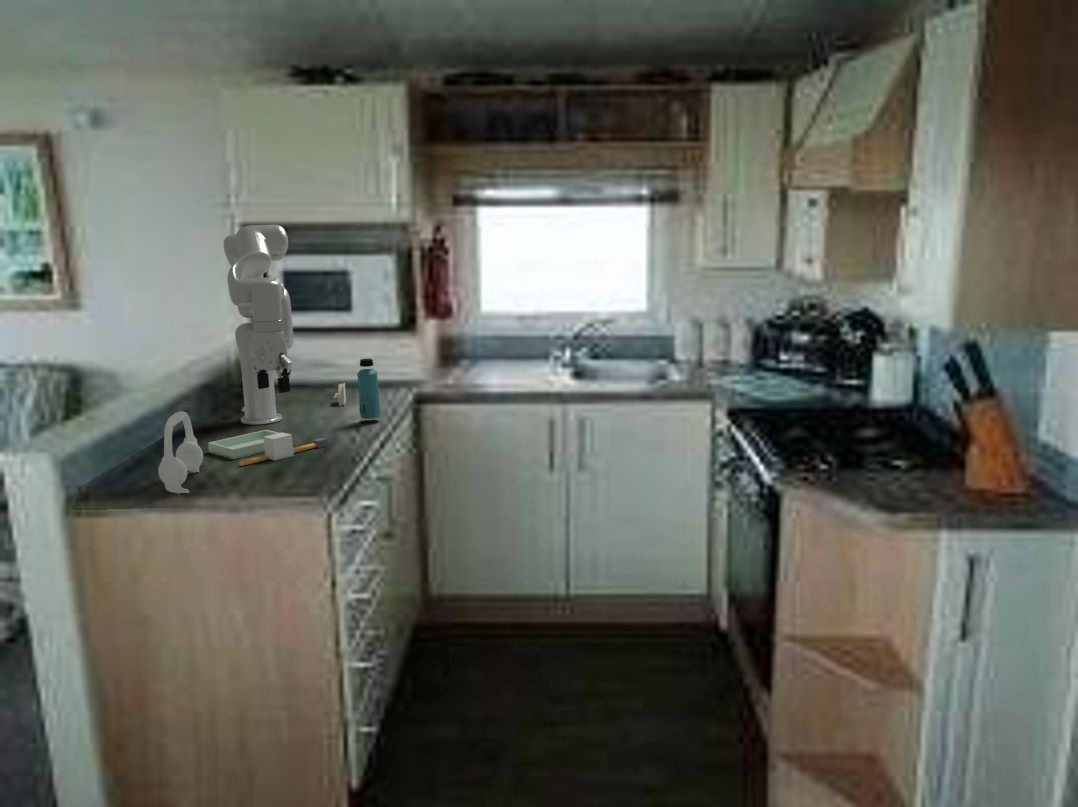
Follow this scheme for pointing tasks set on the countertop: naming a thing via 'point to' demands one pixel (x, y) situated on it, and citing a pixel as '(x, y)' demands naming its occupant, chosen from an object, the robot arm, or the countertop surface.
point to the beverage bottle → (368, 391)
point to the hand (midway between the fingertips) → (274, 390)
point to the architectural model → (341, 394)
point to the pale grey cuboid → (278, 446)
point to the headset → (179, 455)
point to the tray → (240, 445)
